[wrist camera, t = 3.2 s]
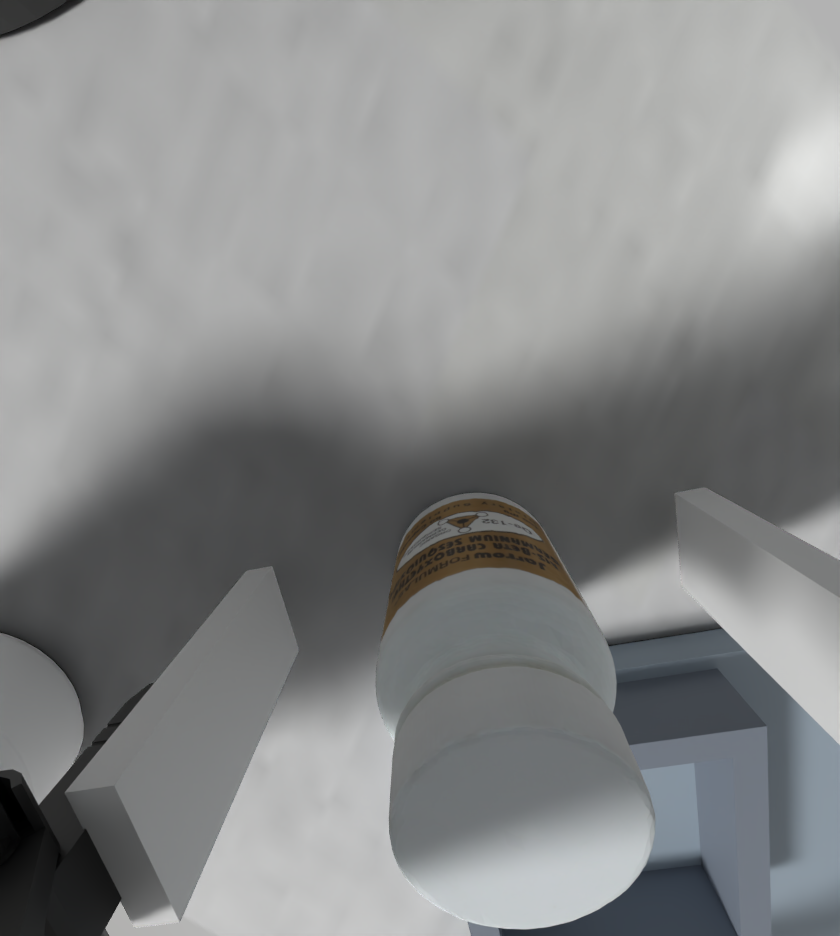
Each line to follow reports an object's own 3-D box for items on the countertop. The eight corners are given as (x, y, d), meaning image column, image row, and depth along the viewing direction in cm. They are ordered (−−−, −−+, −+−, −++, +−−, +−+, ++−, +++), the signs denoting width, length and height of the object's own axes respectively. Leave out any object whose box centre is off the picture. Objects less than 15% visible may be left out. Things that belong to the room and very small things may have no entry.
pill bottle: (529, 469, 13) (665, 656, 5) (565, 607, 14) (721, 927, 6) (376, 512, 13) (298, 742, 6) (422, 643, 14) (408, 980, 7)
